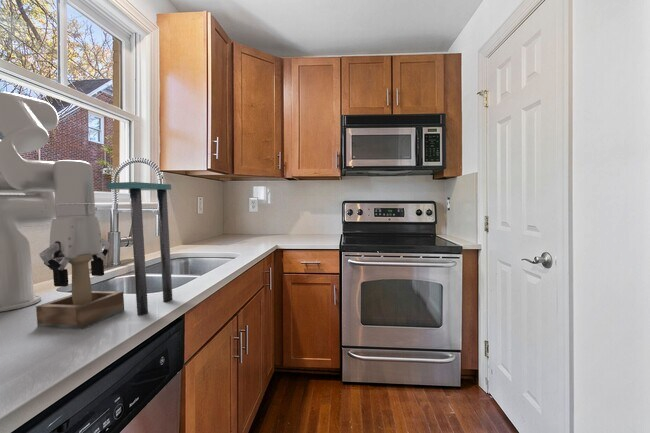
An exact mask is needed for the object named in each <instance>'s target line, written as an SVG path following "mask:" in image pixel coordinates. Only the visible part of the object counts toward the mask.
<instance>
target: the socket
mask: <svg viewBox="0 0 650 433" xmlns="http://www.w3.org/2000/svg"><path fill="white" fill-rule="evenodd" d="M35 308H36V310H35V311H36V323H37V324H36V325H37V328H45V329H67V330H69V329H70V330H71V329H73V330H85V329H86V328H88V327H90V326H93V325H95V324H97V323H99V322H102V321H104V320H105V319H106V320H107V319H108V318H111V317H112V316H115V315H116V314H119V313H121V312H124V311H125V298H124V291H114V290H113V291H108V290H106V291H103V290H92V302H89V303H86V304H83V305H73V300H72V294H69V295H65V296H63V297H61V298H57V299H53V300H52V301H48V302H45V303H42V304H39V305H36V306H35Z"/></svg>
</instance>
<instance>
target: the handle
mask: <svg viewBox="0 0 650 433" xmlns="http://www.w3.org/2000/svg"><path fill="white" fill-rule="evenodd" d="M92 260H93V259H92V254H87V255H82V256H77V258H75V259H73V260H69V262H68V264H70V265H71V295H72V300H73V305H83V304H86V303H89V302H92V291H93V290H92V281H91V277H90V276H91V275H90V267H89V265H90V264H89V262H91V261H92Z"/></svg>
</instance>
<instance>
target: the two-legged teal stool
mask: <svg viewBox="0 0 650 433" xmlns="http://www.w3.org/2000/svg"><path fill="white" fill-rule="evenodd" d="M106 189H107V190H118V191H119V190H124V191H129V200H130V203H129V204H130V217H131V218H130V219H131V236H132V249H133V251H132V252H133V253H132V254H133V267H134V283H135V298H136V299H135V301H136V302H135V303H136V315H137V316H146V315H147V314H149V305H148V290H147V289H148V287H147V272H146V271H147V270H146V269H147V268H146V257H145V256H146V255H145V254H146V253H145V238H144V237H145V236H144V221H143V205H142V202H143V201H142V191H156V197H157V198H156V199H157V213H158V231H159V247H160V248H159V250H160V252H159V253H160V264H161V266H160V267H161V269H160V270H161V284H162V285H161V287H162V302H163V303H169V302H172V301H173V286H172V285H173V284H172V282H173V281H172V280H173V279H172V264H171V245H170V228H169V208H168V191H169V190H170V191H171V190H172V184H167V183H155V182H153V183H152V182H143V181H141V182H140V181H139V182H138V181H126V182H123V181H122V182H107V183H106Z"/></svg>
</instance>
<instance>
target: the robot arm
mask: <svg viewBox="0 0 650 433" xmlns="http://www.w3.org/2000/svg"><path fill="white" fill-rule="evenodd" d="M58 123H59V115H58V112H57V110H56V108H55V107H54V106H53V105H52V104H50V103H49V102H47V101H45V100H41V99H38V98H35V97H29V96H25V95H21V94H18V93H13V92H8V91H0V134H1V135H2V136H3V137H2V138H1V139H0V193H1V194H0V312H8V311H12V310H17V309H21V308H26V307H28V306H31V305H34V304H36V303H39V302H41V300H42V296H41V295H39V294H35V291H34V284H33V283H34V282H33V281H34V280H33V270H32V257H31V256H32V255H31V246H30V244H31V243H30V241H29V240H28V238H27V237H26V236H25V235H24V234H23V233H22V232H21V231H20V230H19V229H20V228H21V229H22V228H32V227H39V226H40V227H43V226H49V225H50V233H49V246H48V247H47V248H46V249H44V250H43V251H41V252H40V253H39V254H38V255H39V257H40V259H41V260H42V262H43V264H44V265H45V266H46V267H48V269H49V270H50V271H52V274H53V276H52V277H53V286H54V287H68V286H69V273H68V271H69V270H68V269H67V268H66V267H67V265H68V264H69V263H68V262H69V260H73V259H75V258H77V256H82V255H87V254H92V260H91V261H90V270H91V276H93V277H95V276H96V277H103V276H105V267H104V261H105V260H106V257H107V254H108V253H109V248H110V245H111V242H110V241H108V240H106V239H103V238H102V231H101V226H100V223H99V222H100V221H99V219H98V216H97V214H96V212H97V211H98V207H96V201H95V186H94V185H95V183H94V170H93V169H94V168H93V166H92V164H91V163H89V162H87V161H84V160H74V159H62V160H60V159H59V160H56V161H47V160H41V159H40V160H38V159H26V158H23V157H22V156H21V155H22V154H26V153H31V152H35V151H37V150H39V149H42V148H43V147H45V146H46V145H47V144H48V142H49V138H50V135H49V133H48V132H50V131H53V130H55V128H57V126H58ZM3 193H4V194H3ZM6 193H9V194H6ZM11 193H13V194H11ZM17 193H18V194H17ZM19 193H20V194H19Z"/></svg>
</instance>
